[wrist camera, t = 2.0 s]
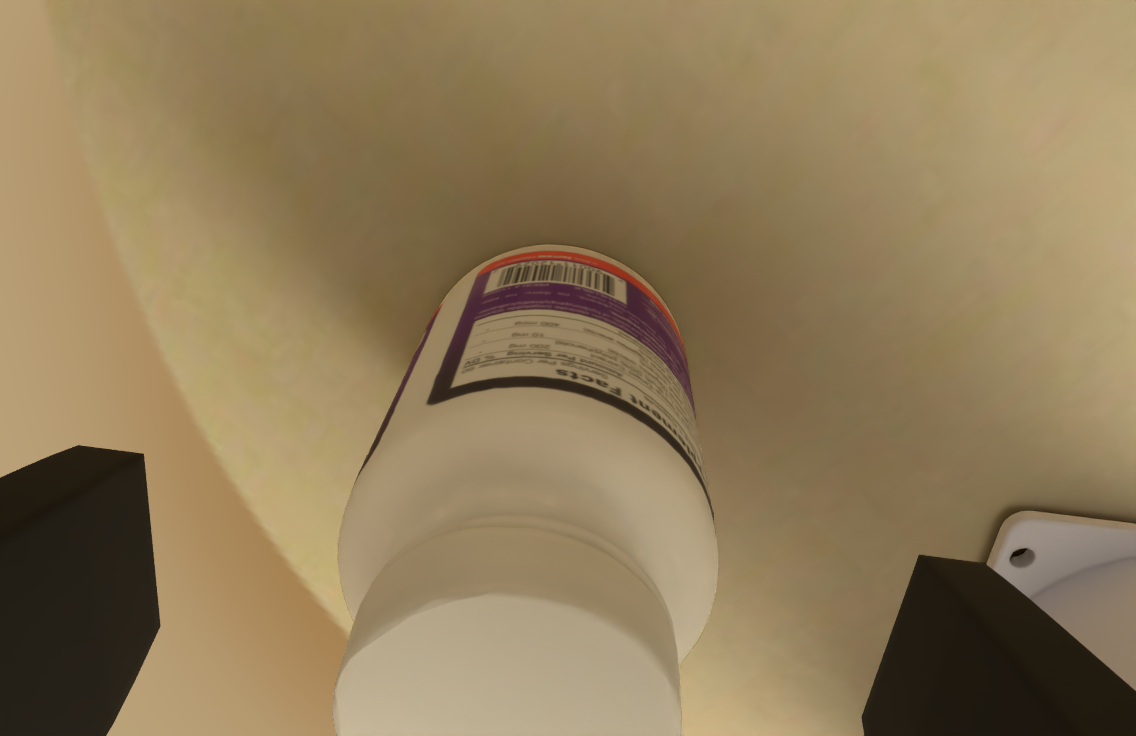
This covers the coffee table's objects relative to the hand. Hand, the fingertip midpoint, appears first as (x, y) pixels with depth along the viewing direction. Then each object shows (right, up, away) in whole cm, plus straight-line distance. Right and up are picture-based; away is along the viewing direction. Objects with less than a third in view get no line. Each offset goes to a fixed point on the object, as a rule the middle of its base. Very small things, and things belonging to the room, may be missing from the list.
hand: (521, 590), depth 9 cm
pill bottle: (0, +2, +11) cm, 11 cm away
